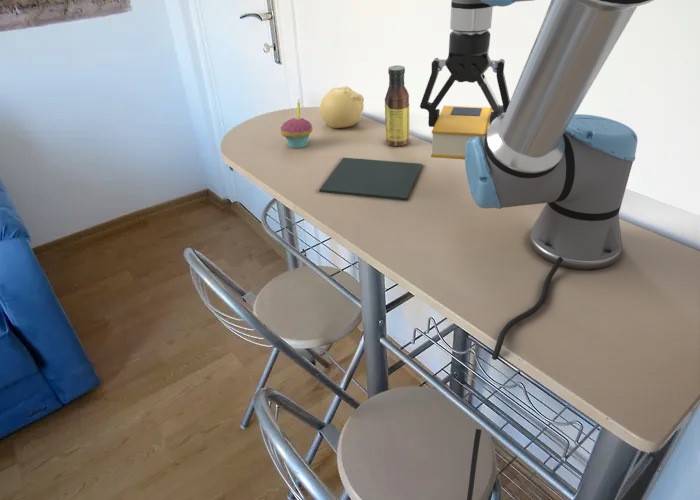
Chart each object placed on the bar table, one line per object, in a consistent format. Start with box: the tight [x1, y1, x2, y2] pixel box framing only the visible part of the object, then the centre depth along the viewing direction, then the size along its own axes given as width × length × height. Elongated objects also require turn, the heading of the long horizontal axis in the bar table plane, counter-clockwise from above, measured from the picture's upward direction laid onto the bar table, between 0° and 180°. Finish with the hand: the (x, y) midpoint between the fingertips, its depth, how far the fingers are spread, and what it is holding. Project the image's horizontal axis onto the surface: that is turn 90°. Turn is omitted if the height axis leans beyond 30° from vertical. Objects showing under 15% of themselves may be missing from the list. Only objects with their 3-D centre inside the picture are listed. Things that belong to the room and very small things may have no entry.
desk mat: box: [318, 157, 423, 201], centre depth 122 cm, size 18×20×1 cm
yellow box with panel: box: [430, 105, 493, 160], centre depth 108 cm, size 16×10×6 cm, turn 163°
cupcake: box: [280, 99, 313, 149], centre depth 138 cm, size 9×8×12 cm
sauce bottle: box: [384, 64, 410, 147], centre depth 134 cm, size 7×6×20 cm
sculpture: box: [319, 86, 365, 129], centre depth 150 cm, size 12×12×11 cm
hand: (462, 142), depth 110 cm, fingers closed on yellow box with panel, 10 cm apart
